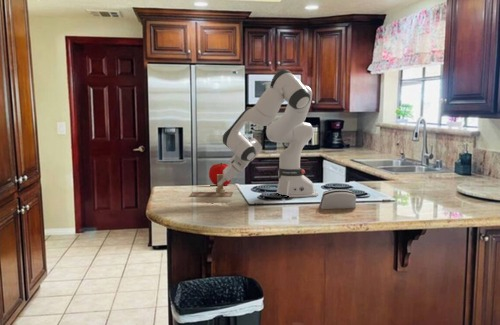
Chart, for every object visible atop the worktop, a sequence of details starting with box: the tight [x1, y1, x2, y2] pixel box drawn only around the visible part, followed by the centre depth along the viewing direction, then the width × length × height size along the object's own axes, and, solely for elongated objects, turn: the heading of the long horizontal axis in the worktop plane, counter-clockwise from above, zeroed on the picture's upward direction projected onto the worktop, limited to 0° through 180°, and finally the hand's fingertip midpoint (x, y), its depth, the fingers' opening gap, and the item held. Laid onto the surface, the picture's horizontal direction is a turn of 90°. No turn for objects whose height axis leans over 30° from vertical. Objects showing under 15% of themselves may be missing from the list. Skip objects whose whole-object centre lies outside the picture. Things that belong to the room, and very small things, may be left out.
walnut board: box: [188, 191, 234, 198], centre depth 224 cm, size 22×13×2 cm, turn 88°
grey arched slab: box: [318, 189, 357, 210], centre depth 199 cm, size 17×5×10 cm, turn 95°
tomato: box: [208, 162, 232, 187], centre depth 256 cm, size 16×14×14 cm
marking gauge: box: [215, 174, 226, 195], centre depth 225 cm, size 4×6×10 cm
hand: (218, 182), depth 225 cm, fingers open, 8 cm apart
